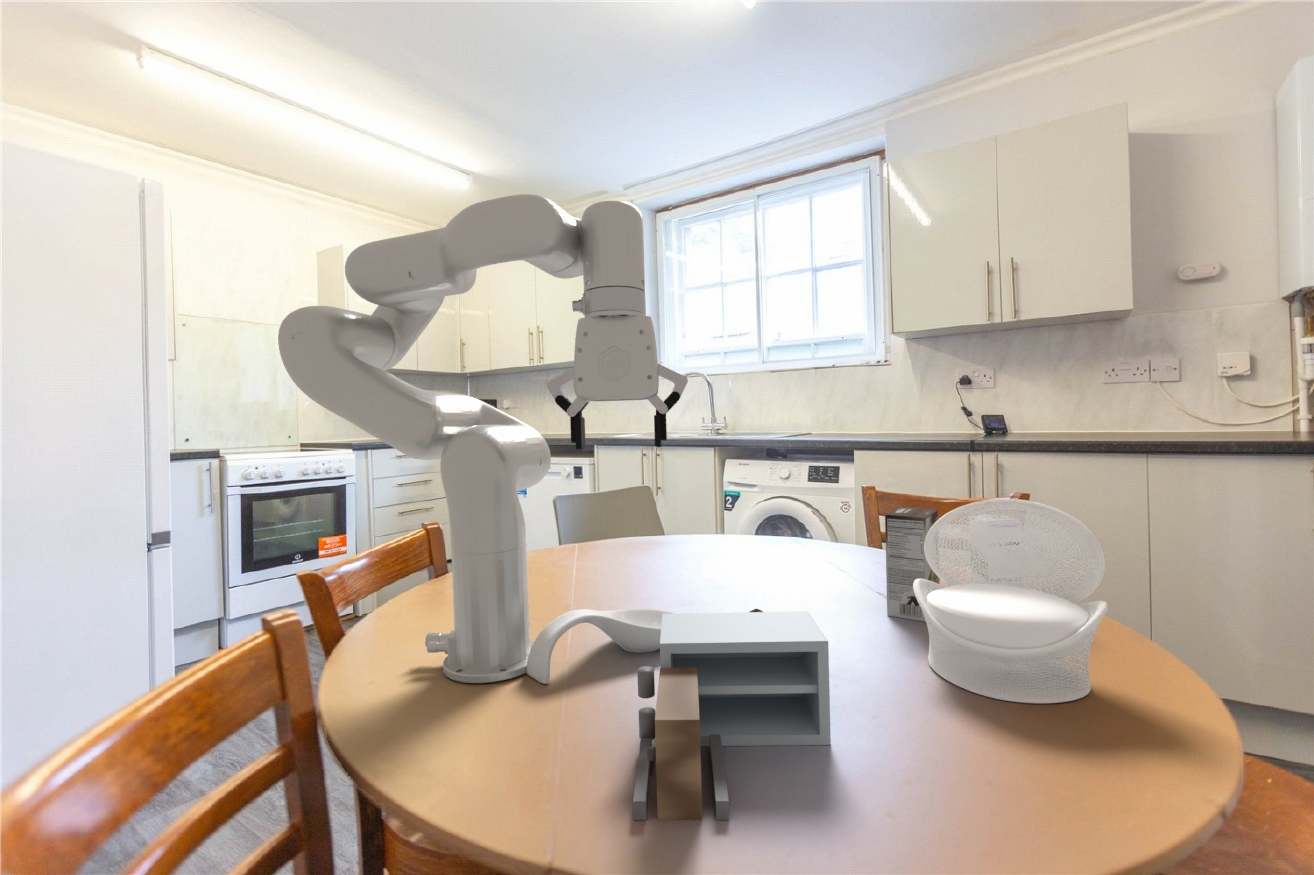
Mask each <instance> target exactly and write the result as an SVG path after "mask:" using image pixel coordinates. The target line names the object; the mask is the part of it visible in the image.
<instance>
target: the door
mask: <svg viewBox="0 0 1314 875" xmlns="http://www.w3.org/2000/svg"><path fill="white" fill-rule="evenodd" d="M654 739H655V746H652V747H648V748H647V759H648V761H651V762H653V761H654V762H655V767H656V768H655V771H656V772H655V773H656V799H657V800H656V804H657V808H656V810H657V820H658V821H703V792H702V762H701V761H702V758H701V755H702V753H701V752H702V751H701V746H700V718H699V698H698V679H697V668H661V667H660V668H659V673H658V685H657V693H656V705H655V738H654Z"/></svg>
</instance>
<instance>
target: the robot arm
mask: <svg viewBox="0 0 1314 875" xmlns="http://www.w3.org/2000/svg"><path fill="white" fill-rule="evenodd" d="M581 216H582V217H581V218H578V217H575V216H572V215H570V214H569V213H567V211H565V210H564V209H562V208H561V207H560V206H558V205H557V204H556V203H555V202H553V201H552V200H550V199H549V198H547V197H544V196H542V195H538V194H532V193H531V194H530V193H529V194H528V193H526V194H525V193H523V194H521V193H520V194H514V195H513V194H511V195H508V196H502V197H497V198H493V199H488V200H483V201H480V202H476V203H472V204H471V205H469V206H467V207H465V208H463V209H462V210H461V211H460V212H458V213H457V214H456V215H454V217H452V218H451V220H449V222H447V224H446V225H445V226H443V227H441V228H437V229H431V230H425V231H423V232H422V231H421V232H416V233H410V234H405V235H400V236H395V237H389V238H385V239H380V240H374V241H370V242H367V243H364V244H361V245H359V246H358V247H356V248H354V249H353V250H352V251H351V252H350V253H349V255H348V256H347V258H346V260H345V264H344V275H345V279H346V281H347V283H348V284H349V286H350V288H351V290H352V291H353V292H354V293H355V294H356V295H357V296H358V297H360V298H361V299H363V300H365V301H367V302H369V303H371V304H374V305H377V307H376V308H375V309H374V310H373V312H372V314H371V315H370V314H367V313H362V312H358V311H354V310H351V309H350V310H349V309H345V308H340V307H335V306H329V305H310V306H304V307H299V308H297V309H295V310H294V311H292V312H290V313H288V314H287V315H286V316H285V318H283V320H282V321H281V324H280V326H279V327H278V328H279V329H278V333H277V334H278V336H277V342H278V350H279V355H280V359H281V361H282V364H283V366H284V368H285V370H286V372H287V374H288V376H289V377H290V379H291V381H292V382H293V383H294V384H295V385H296V387H297V388H298V389H299V390H300V391H301V392H303V394H305V395H306V396H307V397H308V398H310V399H311V400H312V401H313V402H315V404H317V405H319V406H320V407H322V408H324V409H326V410H327V411H329V412H330V413H331V412H332V413H333V414H334V415H336V416H339V417H340V418H342V419H343V420H346V421H347V422H350V423H351V424H352V425H355V426H356V427H358V428H359V429H361V430H363V431H364V432H366V433H367V434H369V435H371V436H372V437H375V438H376V439H378V440H379V441H381V442H383V443H384V444H386V445H388V446H390V447H392V448H393V449H395V450H396V451H398V452H400V453H402V454H404V455H405V456H408V457H410V458H412V459H414V460H422V461H423V460H424V461H429V460H430V461H432V460H433V461H434V460H440V465H439V468H440V470H439V471H440V476H441V482H442V486H443V489H444V495H445V498H446V502H447V510H448V516H449V517H448V520H449V529H450V530H449V531H450V534H449V535H450V550H451V573H452V574H451V575H452V600H453V601H452V602H453V625H454V626H453V629H454V630H450V632H448V633H447V632H446V633H444V632H427V634H426V636H425V641H424V645H425V647H426V651H427V653H431V654H432V653H434V654H435V653H441V652H442V653H444V654H445V655H447V656H446V657H445V658H444V660H443V662H442V670H443V671H442V672H443V674H444V675H445V676H446V677H447V678H449V679H450V680H453V681H455V682H460V683H467V684H486V683H489V684H490V683H495V682H496V683H497V682H502V681H508V680H511V679H514V678H517V677H520V676H523V675H524V674H527V661H528V656H529V653H530V650H531V648H532V645H533V643H534V642H533V641H532V640H531V637H530V636H531V634H530V616H529V615H530V613H529V612H530V609H529V582H528V581H529V580H528V578H529V577H528V554H527V553H528V552H527V551H528V550H527V533H526V532H527V531H526V523H525V517H524V512H523V509H522V505H521V502H520V499H519V496H518V492H519V491H523V490H527V489H530V488H531V487H534V486H535V485H537V484H539V483H540V482H541V481H543V479H544V478H545V477H546V475H547V474H548V473H549V469H550V467H551V460H552V458H551V456H552V455H551V450H550V447H549V443H548V442H547V441H546V439H545V438H544V436H543V435H542V434H541V433H540V432H539V431H537V430H536V429H535V428H534V427H532V426H530V425H529V424H527V423H525V422H523V421H521V420H519V419H518V418H516V417H514V416H512V415H509V414H508V413H506V412H504V411H502V410H500V409H498V408H496V407H494V406H492V405H491V404H489V403H487V402H485V401H483V400H480V399H478V398H476V397H473V396H470V395H467V394H463V393H457V392H456V393H455V392H443V391H441V392H440V391H434V390H425V389H422V388H420V387H417V386H415V385H412V384H410V383H409V382H406V381H405V380H402V379H400V378H398V377H397V376H396V375H394V374H392V373H390V372H387V371H388V370H390V369H392V368H394V367H395V366H397V365H398V364H399V362H401V361H402V360H403V358H404V357H405V356H406V355H407V354H408V352H409V351H410V349H411V348H412V346H413V345H415V342H416V341H417V340H418V339H419V338H420V336H421V335H422V333H424V331H425V329H426V328H427V327H428V326H429V324H430V323H431V322H432V320H433V319H434V317H435V316H436V315H437V313H438V311H439V310H440V308H441V306H442V305H443V302H444V299H445V297H449V296H456V295H462V294H465V293H468V292H469V291H470V290H471V289H472V288H473V287H474V285H475V283H476V280H477V273H478V272H477V270H478V269H480V268H484V267H487V266H491V265H497V264H498V265H499V264H503V263H509V262H515V261H516V262H518V261H523V262H524V261H525V263H526V262H527V263H528V264H529V265H532V266H534V267H535V268H538V269H539V270H540V271H543V272H544V273H547V274H548V275H550V276H552V277H555V278H558V279H563V280H565V279H566V280H567V279H573V278H577V277H581V276H583V293H582V297H581V299H578V300H572V301H571V302H572V303H571V307H572V311H573V312H578V313H581V314H582V315H583V316H584V317H580V318H578V320H577V324H576V330H575V339H574V358H573V359H574V360H573V367H571V368H570V369H568V370H566V371H564V372H563V373H561V374H559V375H558V376H556V377H554V378H551V379H550V380H549V381H547V382H546V387H547V389H548V390H549V392H550V395H551V396H552V398H553V400H554V402H555V404H556V405H557V406H558V407H560V408H561V410H563V412H564V413H566V415H567V416H568V417H569V418H570V420H569V421H570V422H569V424H570V425H569V426H570V441H571V444H575V450H584V449H585V448H586V424H585V423H586V421H585V417H584V416H583V411H584V410H586V408H587V407H588V405H589V404H590V402H615V401H616V402H617V401H620V402H621V401H644V400H648V401H649V403H650V404H651V405H652V406H653V407H654V408H655V415H653V422H654V424H653V425H654V430H653V431H654V447H656V448H661V447H662V445H663V444H662V441H667V440H668V435H667V434H668V433H667V413H668V412H669V411H670V410H671V409H672V408H673V407H674V406H675V405H677V403H678V401H680V399H681V397H682V394H683V393H684V391H685V389H686V386H687V384H688V382H689V380H688V379H689V378H688V377H687V376H685V375H682V374H681V373H678V371H677V372H676V371H675V370H672V369H670V368H669V367H666V366H664V365H662V364H660V363H658V362H659V360H658V359H659V358H658V349H657V340H656V339H657V338H656V333H655V328H654V323H653V319H652V317H651V316H650V315H647V308H646V306H647V305H646V304H647V303H646V284H645V283H646V281H645V279H646V278H645V275H646V274H645V271H646V270H645V247H644V246H645V243H644V242H645V241H644V219H643V215H642V212H641V211H640V210H639V208H638V207H637V206H635V205H634V204H632V203H630V202H627V201H621V200H603V201H597V202H594V203H592V204H591V205H588V207H586V208H585V209H584V211H583V213H582V215H581ZM659 377H661V378H663V379H665V380H668V381H669V382H671V383H673V384H674V387H673V388H672V391H671V393H670V394H669V395H668V396H667V397H666V398H665V399H664V400H662V399H661V398H660V396H659V395H658V393H659V387H660V386H659V385H660V384H659V382H660V380H659ZM571 382H573V388H574V389H573V390H574V394H575V396H576V398H575V399H574V400H573V401H572V402H571V401H570V400H569V398H568V397H566V396H565V393H564V391H563V387H565V386H566V385H568V384H570V383H571ZM530 640H531V641H530Z"/></svg>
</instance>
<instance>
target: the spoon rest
mask: <svg viewBox="0 0 1314 875" xmlns="http://www.w3.org/2000/svg"><path fill="white" fill-rule="evenodd" d="M663 614H677V613H675V612H671V611H667V610H662V609H653V608H629V609H617V610H596V609H585V608H583V609H574V610H573V609H572V610H570V611H566V612H564V613H562V614H560V615H558V616H557V617H555V618H553V620H551V621H550V622H549V623H548V624H547V625H545V626H544V627H543V628H542V630H540V632H539V633H538V635H537V637H536V638H535V640H534V642H533V645H532V648H531V650H530V653H529V656H528V661H527V673H526V674H527V676H529V677H531V678H532V679H534V680H536V681H537V682H539V683H541V684H543V685H549V683H550V681H551V680H550V679H551V674H550V673H551V660H552V654H553V651H554V648H555V646H556V644H557V642H558V641H559V639H560V638H561V637H562V636H563V635H564V634H565V633H567V632H568V631H569V630H570V629H572V628H573V627H575V626H577V625H579V624H587V623H588V624H591V625H594V626H595V627H596V628H598V629H599V630H600V631H602V632H603V633H604V634H605V635H606V636H608V637H609V638H610V639H611V641H613V642H614V643H616V644H617V645H618V646H620V648H622V649H623V650H625V651H627V652H631V653H649V652H651V653H652V652H656V651H658V650H660V636H661V626H662V615H663Z"/></svg>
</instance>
